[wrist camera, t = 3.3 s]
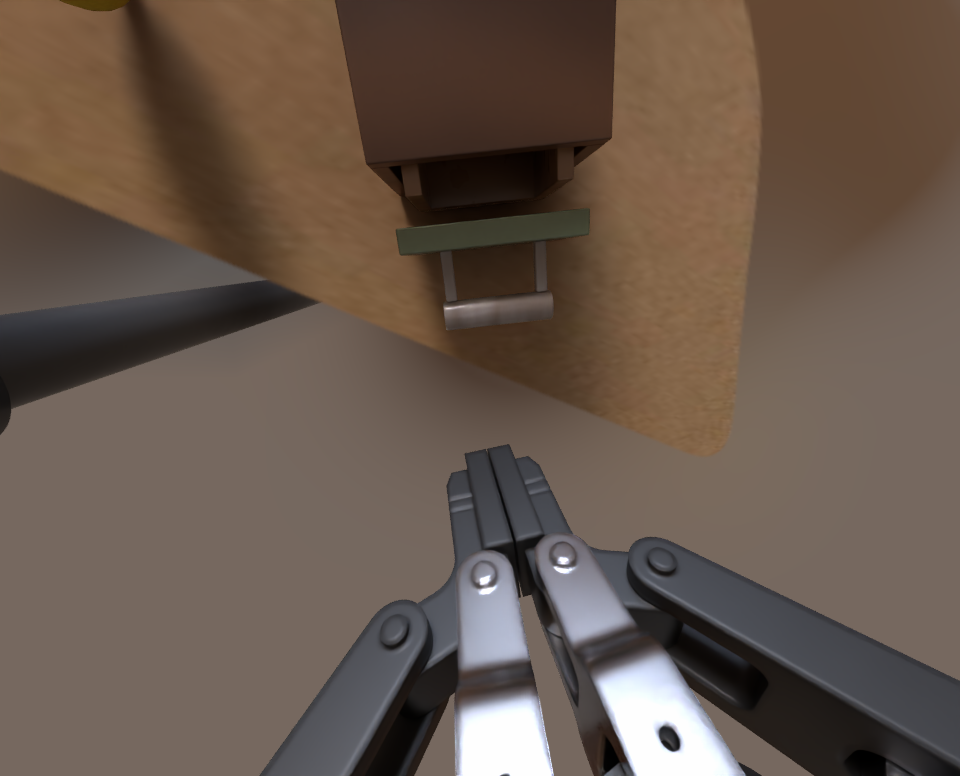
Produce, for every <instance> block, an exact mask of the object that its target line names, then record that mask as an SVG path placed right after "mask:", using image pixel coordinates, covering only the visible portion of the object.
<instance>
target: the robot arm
mask: <svg viewBox="0 0 960 776" xmlns="http://www.w3.org/2000/svg"><path fill="white" fill-rule="evenodd" d="M487 450H488V454H487V451H486V449H484V450H479V451H475V452H470V453H465V459H466V463H467V470H463V471H458V472H454V473H451V476H450V478H449V481H448V484H447V494H448V501H449V511H450V520H451V528H452V536H453V545H454V554H455V564H454V568H453V572H452V574H451V576H450V578H449V579H448V581H447V582H446V583H445V584H444V586H442V588H440V589H439V590H438V591H436V592H435V593H434V594H432V595H430V596H429V597H427V598H426V599H424V600H423V601H421V602H419V603H418V604H417V603H415V602H413V601H410V600H398V601H394V602H392V603H390V604H388V605H386V606H384V607H383V608H382V609H380V611H378V612H377V613H376V614H375V616H374V617H373V618H372V619H371V621H370V622H369V624H368V625H367V626H366V628H365V629H364V630H363V632H362V633H361V635H360V636H359V637H358V639H357V640H356V642H355V643H354V644H353V646H352V647H351V649H350V650H349V651H348V653H347V654H346V656H345V657H344V658H343V660H342V661H341V663H340V664H339V665H338V667H337V668H336V670H335V671H334V672H333V674H332V675H331V677H330V678H329V679H328V681H327V682H326V684H325V685H324V686H323V688H322V689H321V691H320V692H319V693H318V695H317V696H316V698H315V699H314V700H313V702H312V703H311V704H310V706H309V707H308V709H307V710H306V712H305V713H304V714H303V716H302V717H301V718H300V720H299V721H298V723H297V724H296V726H295V727H294V728H293V730H292V731H291V732H290V734H289V735H288V737H287V738H286V739H285V741H284V742H283V744H282V745H281V746H280V748H279V749H278V751H277V752H276V753H275V755H274V756H273V757H272V759H271V760H270V762H269V763H268V764H267V766H266V767H265V769H264V770H263V771H262V773H261V774H260V776H414V774H415V773H416V771H417V768H418V766H419V764H420V762H421V760H422V758H423V755H424V753H425V751H426V749H427V747H428V745H429V743H430V740H431V738H432V736H433V734H434V732H435V730H436V728H437V725H438V723H439V721H440V719H441V717H442V714H443V713H444V710H445V708H446V706H447V703H448V701H449V697H450V696H451V695H452V694H453V693H455V703H454V709H455V710H454V711H455V756H456V776H554V775H553V770H552V765H551V760H550V755H549V749H548V745H547V739H546V734H545V729H544V723H543V718H542V713H541V708H540V703H539V697H538V692H537V687H536V682H535V678H534V673H533V670H532V666H531V661H530V656H529V650H528V645H527V640H526V635H525V630H524V624H523V619H522V614H521V608H520V603H519V598H520V597H521V595H520V588H519V583H520V587H521V591H522V594H523V597H524V596H528V595H532V597H533V600H534V604H535V607H536V611H537V614H538V617H539V619H540V623H541V626H542V629H543V632H544V634H545V637H546V639H547V642H548V645H549V648H550V650H551V653H552V655H553V658H554V661H555V663H556V666H557V669H558V671H559V674H560V676H561V679H562V682H563V685H564V687H565V690H566V692H567V695H568V698H569V700H570V703H571V706H572V708H573V711H574V714H575V718H576V721H577V725H578V729H579V733H580V737H581V740H582V743H583V746H584V750H585V753H586V755H587V758H588V761H589V764H590V767H591V769H592V772H593V774H594V776H761V775H760V774H758V773H757V772H755V771H754V770H752V769H750V768H749V767H747V766H745V765H743V764H741V763H739V762H737V761H736V759H735V758H734V756H733V755H732V753H731V752H730V750H729V748H728V747H727V745H726V744H725V742H724V740H723V739H722V737H721V736H720V734H719V733H718V731H717V730H716V728H715V727H714V725H713V723H712V722H711V720H710V719H709V717H708V715H707V714H706V712H705V711H704V709H703V708H702V706H701V705H700V703H699V702H698V700H697V698H696V697H695V695H694V694H693V692H692V690H691V689H693V690H694V691H695V692H697V693H698V694H700V695H701V696H703V697H704V698H705V699H707V700H708V701H710V702H711V703H712V704H714V705H715V706H717V707H718V708H719V709H721V710H722V711H724V712H725V713H727V714H728V715H729V716H731V717H732V718H734V719H735V720H737V721H738V722H739V723H741V724H742V725H743V726H745V727H746V728H748V729H749V730H751V731H752V732H753V733H755V734H756V735H758V736H759V737H760V738H762V739H763V740H765V741H766V742H767V743H769V744H770V745H772V746H773V747H775V748H776V749H777V750H779V751H780V752H782V753H783V754H785V755H786V756H787V757H789V758H790V759H792V760H793V761H794V762H796V763H797V764H799V765H800V766H801V767H803V768H804V769H806V770H807V771H808V772H810V773H811V774H813V775H814V776H960V681H959V680H956V679H955V678H952V677H950V676H948V675H946V674H944V673H942V672H940V671H938V670H936V669H934V668H931V667H930V666H927V665H926V664H923V663H921V662H919V661H917V660H915V659H913V658H911V657H909V656H907V655H905V654H903V653H901V652H898V651H897V650H894V649H892V648H890V647H888V646H886V645H884V644H882V643H880V642H878V641H876V640H874V639H872V638H869V637H868V636H866V635H863V634H861V633H859V632H857V631H855V630H853V629H851V628H849V627H847V626H845V625H843V624H841V623H838V622H836V621H834V620H832V619H830V618H828V617H826V616H824V615H822V614H820V613H818V612H816V611H814V610H812V609H810V608H808V607H805V606H803V605H801V604H799V603H797V602H795V601H793V600H791V599H789V598H787V597H784V596H783V595H780V594H779V593H776V592H774V591H772V590H770V589H768V588H766V587H764V586H762V585H760V584H758V583H756V582H754V581H752V580H750V579H748V578H745V577H743V576H741V575H739V574H737V573H735V572H733V571H731V570H729V569H727V568H725V567H723V566H720V565H719V564H716V563H714V562H712V561H710V560H708V559H706V558H704V557H702V556H699V555H698V554H696V553H694V552H692V551H690V550H687V549H685V548H683V547H681V546H679V545H677V544H675V543H673V542H671V541H668V540H666V539H662V538H657V537H645V538H642V539H639V540H637V541H636V542H635V543H633V545H632V546H631V547H630V550H629V552H621V551H606V550H599V549H595V548H592V547H590V546H588V545H587V544H586V543H585V542H584V541H583V540H582V539H581V538H579V537H578V536H576V535H574V534H573V533H572V531H571V530H570V528H569V526H568V524H567V522H566V519H565V517H564V515H563V513H562V511H561V509H560V507H559V505H558V503H557V501H556V499H555V497H554V495H553V493H552V491H551V490H550V486H549V484H548V482H547V481H546V479H545V476H544V474H543V472H542V470H541V468H540V466H539V465H538V464H537V463H536V462H535V461H533V460H532V459H531V458H530V457H528V456H526V457H522V458H517V459H515V457H514V455H513V452H512V450H511V447H510V445H509V444H507V445H503V446H498V447H493V448H489V449H487ZM690 688H691V689H690Z"/></svg>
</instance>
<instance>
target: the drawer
mask: <svg viewBox="0 0 960 776" xmlns="http://www.w3.org/2000/svg"><path fill="white" fill-rule="evenodd" d="M400 166H401V172H402V178H403V184H404V191H405V196H406V197H407V199H408V200H409V201H410V202H411V203H412V204H413V205H414V206H415V207H416V208H417V209H418V210H419V211H420V212H427V211H436V210H446V209H455V208H464V207H473V206H483V205H492V204H501V203H510V202H519V201H529V200H538V199H544V198H546V197H547V196H549V195H550V194H552V193H553V192H555V191H556V190H557V189H559V188H560V187H562V186H563V185H565V184H566V183H568V182H569V181H571V180H572V179H574V147H568V148H558V149H549V150H540V151H530V152H521V153H512V154H502V155H493V156H484V157H474V158H465V159H456V160H446V161H437V162H428V163H418V164H409V165H400ZM589 227H590V209H589V208H584V209H574V210H565V211H556V212H547V213H538V214H529V215H519V216H510V217H501V218H492V219H483V220H473V221H464V222H455V223H446V224H437V225H428V226H418V227H409V228H400V229H396V235H397V241H398V247H399V253H400V255H402V256H403V255H424V254H433V253H440V256H441V264H442V271H443V279H444V286H445V293H446V302H443V308H444V317H445V324H446V329H447V330H456V329H465V328H474V327H483V326H491V325H500V324H509V323H518V322H527V321H536V320H545V319H551V318H552V316H553V310H554V305H553V297H552V293H551V291H550V290H547V263H546V241H552V240H559V239H565V238H572V237H579V236H585V235H589ZM524 243H533V260H534V284H535V291H536V292H527V293H518V294H509V295H500V296H491V297H482V298H473V299H464V300H457V291H456V283H455V275H454V267H453V259H452V251H461V250H470V249H479V248H488V247H497V246H506V245H515V244H524Z"/></svg>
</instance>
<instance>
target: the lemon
mask: <svg viewBox="0 0 960 776" xmlns="http://www.w3.org/2000/svg"><path fill="white" fill-rule="evenodd" d="M60 1H62V2H64V3H67V4H70V5H73V6H76V7H80V8H83V9H87V10H91V11H112V10H115V9H118V8H120V7H123V6H124V5H125V4H126V3H127V2H128V1H130V0H60Z"/></svg>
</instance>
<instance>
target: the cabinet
mask: <svg viewBox="0 0 960 776" xmlns="http://www.w3.org/2000/svg"><path fill="white" fill-rule="evenodd" d="M335 3H336V8H337V14H338V19H339V24H340V29H341V35H342V40H343V45H344V50H345V55H346V61H347V66H348V71H349V76H350V82H351V87H352V92H353V97H354V103H355V108H356V113H357V118H358V124H359V129H360V134H361V139H362V144H363V150H364V155H365V160H366V164H367V165H368V166H369V167H370V168H371V169H372V170H373V171H374V172H375V173H376V174H377V175H378V176H379V177H380V178H381V179H382V180H383V181H384V182H386V183H387V184H388V185H389V186H390V187H391V188H392V189H393V190H394V191H395V192H396V193H397V194H398V195H399V196H405V191H404V184H403V178H402V172H401V166H400V165H409V164H418V163H428V162H437V161H446V160H456V159H465V158H474V157H484V156H493V155H502V154H512V153H521V152H530V151H540V150H549V149H558V148H568V147H574V167H575V166H576V165H578V164H579V163H580V162H582V161H583V160H584V159H585V158H587V157H588V156H589V155H591V154H592V153H593V152H595V151H596V150H597V149H598V148H600V147H601V146H602V145H604V144H605V143H606V142H607V141H608V140H610V139H611V138H612V113H613V82H614V50H615V19H616V0H335Z"/></svg>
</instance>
